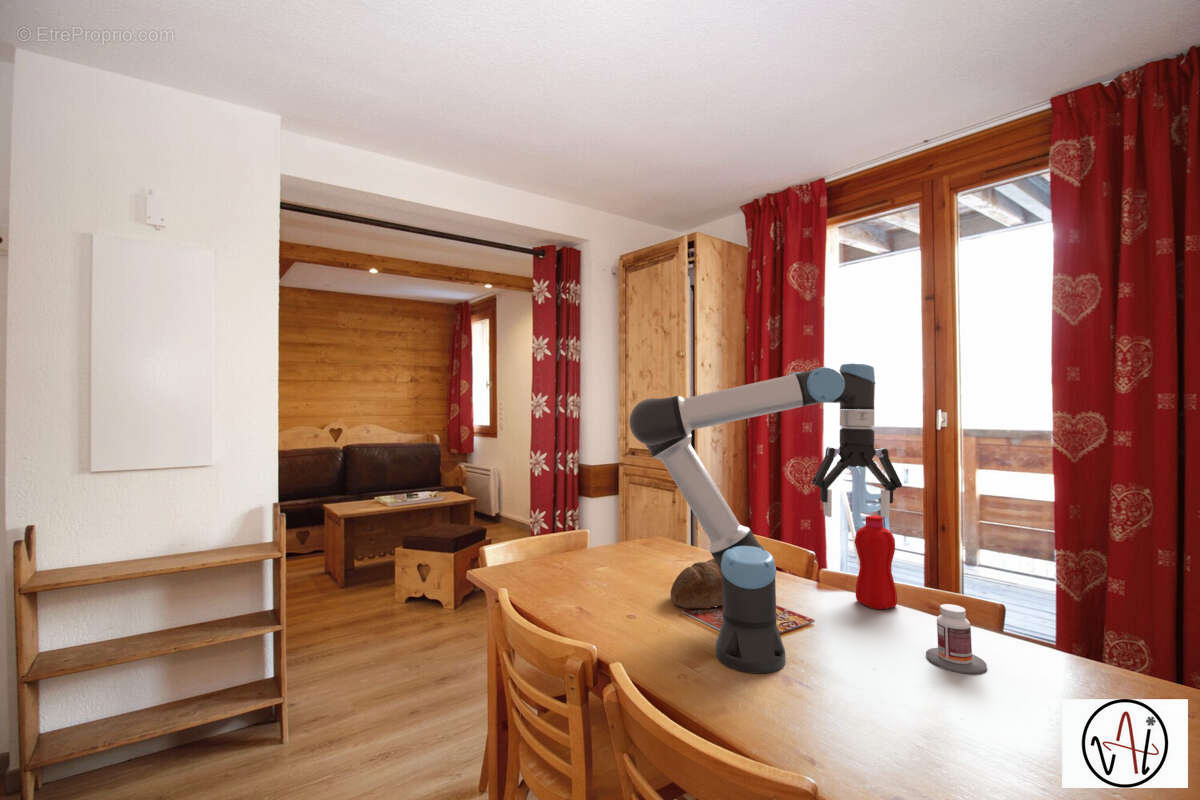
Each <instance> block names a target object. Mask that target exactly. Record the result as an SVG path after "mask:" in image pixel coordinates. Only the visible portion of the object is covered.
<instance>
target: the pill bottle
mask: <svg viewBox="0 0 1200 800" xmlns="http://www.w3.org/2000/svg"><path fill="white" fill-rule="evenodd" d="M939 611H940V614H939V615H938V616H937V618H936V628H937V629H936V631H937V633H936V634H937V648H938V654H939V656H940V657H941V658H942V659H944V660H946V661H948V662H951V663H956V664H969V663H971V662H972V654H973V650H972V631H971V630H972V629H971V623H970V621H969V620H968V618H967V613H966V611H967V610H966V609H965V607H962V606H960V605H956V604H950V603H945V604H940V607H939Z"/></svg>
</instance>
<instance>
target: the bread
mask: <svg viewBox="0 0 1200 800" xmlns="http://www.w3.org/2000/svg"><path fill="white" fill-rule="evenodd" d="M670 600H671V601H672V602H673V604H674V605H675V604H676V605H675V606H677V607H679V606H680V607H679V608H682V607H683V608H682V609H709V608H708V607H715V606H719V607H721V606H720V605H723V600H722V571H721V569H720V567H719V566H718V564H717V562H716V561H715V559H714V558H712V559H709V560H706V561H699V562H695V563H693V564H692V565H691V566H688V567H686V568H684V569H683V570H682V571H681V572H680V573H679V574H678V575H677V577H676V578H675V580H674V582H673V584H672V586H671V589H670ZM706 607H707V608H706ZM715 608H716V607H715Z"/></svg>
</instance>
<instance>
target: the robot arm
mask: <svg viewBox="0 0 1200 800" xmlns="http://www.w3.org/2000/svg"><path fill="white" fill-rule="evenodd" d="M875 379H876V378H875V367H874V365H872V364H870V363H864V362H863V363H861V362H855V363H851V362H850V363H842V364H841V365H840V367H839V371H838V370H837V369H836V368H834V367H830V366H821V367H817V368H814V369H810V370H807V371H796V372H795V371H794V372H793V371H792V372H791V373H789V375H788V374H787V375H784V376H781V377H780V376H779V377H776V378H771V379H767V380H762V381H761V380H760V381H757V382H753V383H749V384H743V385H739V386H736V387H735V386H734V387H731V388H725V389H722V390H721V389H720V390H717V391H713V392H707V393H704V394H699V395H694V396H690V397H684V396H681V395H675V396H669V397H661V398H653V397H652V398H646V399H643V400H642V401H640V402H638V403H637V404H636V405H635V406H634V407H633V409H632V411H630V415H629V421H628V423H629V429H630V431H631V434H632V435H633V437H634V438H635V439H636V440H638V442H640V443H642V444H644V445H645V446H646V448H647V449H648V451H649V453H650V455H651V456H652V458H653V459H656V460H660V461H661V462H662V463H663V465H664V467H665V468H666V469H667V471H668V473H669V475H670V477H671V478H672V480H673V481H674V483H675V485H676V486H677V488H678V489H679V492H680V493H681V494H682V497H683V498H684V500H685V501H686V503H687V505H688V507H689V508H690V510H691V511H692V513H693V514H694V516H695V517H696V520H697V521H698V523H699V525H700V526H701V528H702V529H703V531H704V533H705V534H706V536H707V537H708V540H709V541H710V545H709V553H710V554H711V556H712V557H713V559H715V561H716V562H717V564H718V566H719V567H720V569H721V571H722V600H723V606H722V622H721V626H720V628H719V632H718V635H717V638H716V642H715V657H716V659H717V660H718V661H719V663H721V664H723V665H724V666H725V667H728V668H730V669H733V670H736V671H739V672H744V673H750V674H767V673H773V672H776V671H779V670H781V669H782V668H783V667H784V666H785V665H786V663H787V662H786V661H787V660H786V659H787V658H786V649H785V646H784V643H783V641H782V637H781V635H780V631H779V628H778V626H777V592H776V589H777V588H776V575H777V568H776V562H775V558H774V556H773V555H772V554H771V553H770V552H769V551H767V550H766V549H765V548H764V546H762V545H761V543H760V542H759V541H758V540H757V537H755V534H754V533H753V531H752V530H751V528H750V527H749V526H745V525H741V524H740V522H739V520H738V518H737V517H736V515H735V514H734V511H732V509H731V508H730V506H729V504H728V502H727V501H726V498H724V496H723V495H722V493H721V491H720V490H719V488H718V486H717V485H716V483H715V481H714V479H713V478H712V476H711V475H710V473H709V472H708V470H707V468H706V467H705V465H704V464H703V462H702V460H701V459H700V457H699V455H698V454H697V452H696V450H695V449H694V448H693V446H692V444H691V442H692V441H691V440H692V433H691V432H692V431H693V430H699V429H703V428H708V427H713V426H717V425H722V424H726V423H732V422H735V421H740V420H745V419H750V418H755V417H759V416H764V415H769V414H773V413H774V414H775V413H778V412H784V411H787V410H794V409H797V408H801V407H802V408H803V407H808V406H813V405H817V404H818V405H819V404H825V403H826V404H828V403H829V404H832V403H833V404H839V426H840V427H841V428H840V429H839V447H838V448H835V447H830V446H827V447H826V449H825V455H824V457H823V460H822V461H821V463H820V465H819V467H818V469H817V472H816V473H815V475H814V477H813V479H812V480H811V484H812V485H814V486H816V487H818V488H819V489H820V490H819V499H820V502H822V503H823V515H824V516H825V517H827V518H832V505H833V504H832V502H833V501H832V497H833V495H832V492H833V491H832V490H833V489H831V488H830V486H831V485H832V484H833V483H834V482H835V481H836V480H837V478H838V477H840V475H841V474H842V473H843V471H845V470H846V469H848V467H851V468H857V467H860V468H867V469H868V470H869V471H870V472H871V473H872V475H873V476H874V477H875V478H876V479H877V480H878V482H879V483H880V484H881V485H882V487H884V488H880V516H881V517H883V518H884V519H890V517H891V516H890V514H891V513H890V511H891V510H890V508H891V507H890V506H891V505H890V504H893V503H894V491H896V490H897V489H898V488H899V489H900V488H902V486H903V484H902V481H901V480H900V478H899V476H898V473H897V472H896V469H895V468H894V465H893V463H892V462H891V459H890V456H889V449H888V448H884V447H883V448H882V447H879V448H877V449H875V447H874V446H875V430H874V429H872V428H873V427H875V392H876V380H875ZM837 455H839V457H840V459H838V461H837V463H836V465H835V466H834V467H833V468H832V469H831V470H830V471H829V469H830V468H831V465H832V463H833V462H834V460H835V458H836V457H837ZM875 456H876V457H877V458H878V460H879V462H880V464H881V466H882V468H883V470H884V472H885V473H886V475H887V476H886V475H885V474H884V473H883V471H882V470H881V468H879V467H878V464H877V463H876V462H875V461H874V460H873V459H874V457H875ZM828 471H829V473H828Z"/></svg>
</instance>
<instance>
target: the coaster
mask: <svg viewBox="0 0 1200 800" xmlns="http://www.w3.org/2000/svg"><path fill="white" fill-rule="evenodd" d="M925 658H926V659H927V660H928V662H930V663H931V664H932V665H934V666H936V667H938V668H941V669H943V670H947V671H950V672H954V673H958V674H965V675H979V674H984V673H985V672H986V671H987V669H988V666H987V663H986V661H985V660H983V659H982V658H981V657H979V656H977V655H975V654H973V653H972V662H971V663H969V664H956V663H951V662H948V661H946V660H944V659H942V658H941V657H940V656H939V654H938V647H931V648H929V649H927V650H926V652H925Z"/></svg>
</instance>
